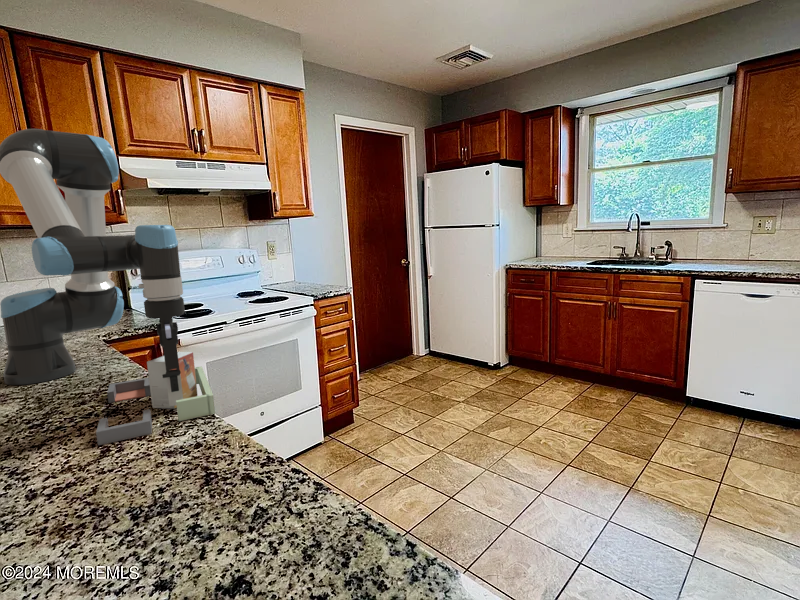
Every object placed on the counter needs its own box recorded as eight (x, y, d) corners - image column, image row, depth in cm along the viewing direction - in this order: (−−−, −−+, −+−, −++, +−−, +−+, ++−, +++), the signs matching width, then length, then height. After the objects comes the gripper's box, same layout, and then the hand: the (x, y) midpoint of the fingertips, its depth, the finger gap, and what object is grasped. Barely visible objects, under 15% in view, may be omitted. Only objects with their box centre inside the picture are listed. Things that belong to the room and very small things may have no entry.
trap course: (111, 394, 103) (108, 378, 103) (202, 377, 113) (200, 363, 112) (98, 445, 78) (94, 424, 77) (217, 418, 87) (215, 400, 87)
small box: (174, 409, 92) (168, 362, 91) (151, 408, 94) (145, 361, 92) (198, 395, 100) (193, 351, 99) (177, 394, 101) (172, 350, 100)
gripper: (144, 293, 101) (155, 385, 104) (142, 307, 82) (156, 419, 85) (180, 290, 104) (190, 379, 108) (186, 302, 85) (198, 410, 89)
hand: (175, 397), depth 97 cm, fingers closed on small box, 9 cm apart
